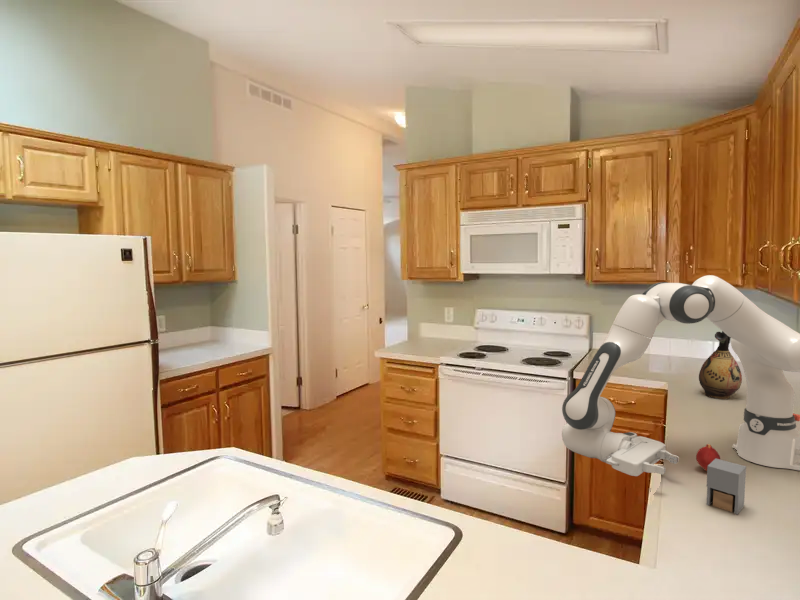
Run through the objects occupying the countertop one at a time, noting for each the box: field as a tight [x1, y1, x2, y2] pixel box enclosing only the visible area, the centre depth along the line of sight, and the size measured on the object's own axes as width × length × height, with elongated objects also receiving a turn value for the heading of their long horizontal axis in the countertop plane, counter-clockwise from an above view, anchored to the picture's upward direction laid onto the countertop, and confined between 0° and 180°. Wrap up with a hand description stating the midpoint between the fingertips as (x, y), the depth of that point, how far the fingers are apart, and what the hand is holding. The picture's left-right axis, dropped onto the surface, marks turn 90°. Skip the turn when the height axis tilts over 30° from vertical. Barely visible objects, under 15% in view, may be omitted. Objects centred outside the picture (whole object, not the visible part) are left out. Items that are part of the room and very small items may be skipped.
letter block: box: [712, 489, 735, 513], centre depth 118 cm, size 4×4×4 cm
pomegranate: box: [695, 443, 721, 472], centre depth 137 cm, size 6×6×8 cm
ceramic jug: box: [698, 330, 743, 400], centre depth 208 cm, size 17×15×30 cm
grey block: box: [705, 458, 747, 515], centre depth 118 cm, size 6×6×10 cm
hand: (671, 465), depth 127 cm, fingers open, 8 cm apart
